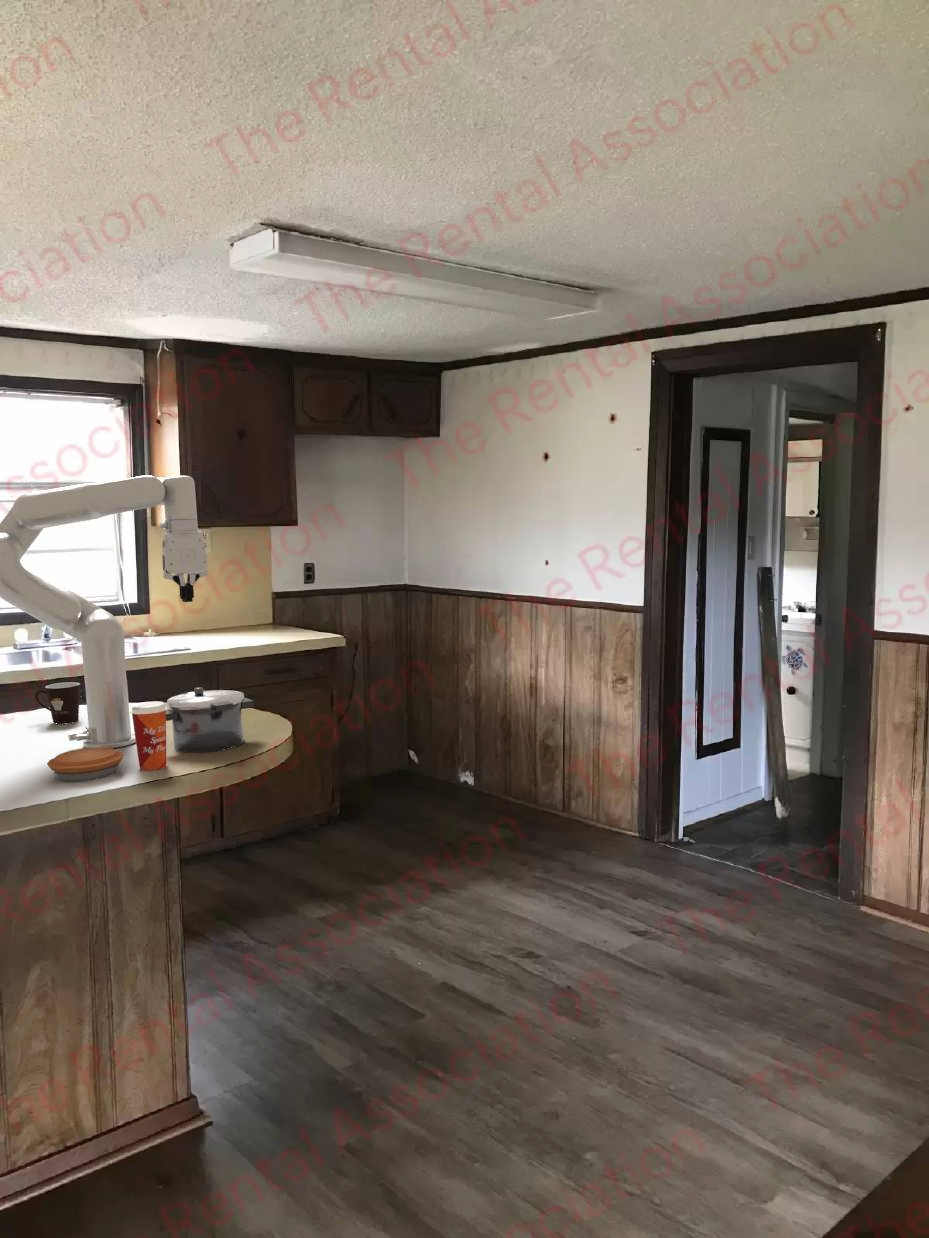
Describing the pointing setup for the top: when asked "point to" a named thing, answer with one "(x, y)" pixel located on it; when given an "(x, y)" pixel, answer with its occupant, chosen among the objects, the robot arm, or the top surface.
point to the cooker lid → (206, 700)
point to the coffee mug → (62, 701)
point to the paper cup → (150, 734)
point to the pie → (85, 764)
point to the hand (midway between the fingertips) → (187, 601)
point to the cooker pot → (207, 728)
